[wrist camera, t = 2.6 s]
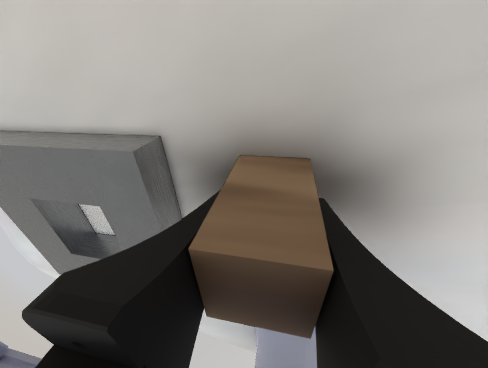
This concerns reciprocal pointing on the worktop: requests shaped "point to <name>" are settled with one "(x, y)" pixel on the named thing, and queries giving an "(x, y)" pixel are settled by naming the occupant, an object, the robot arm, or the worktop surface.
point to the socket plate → (85, 192)
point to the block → (265, 247)
